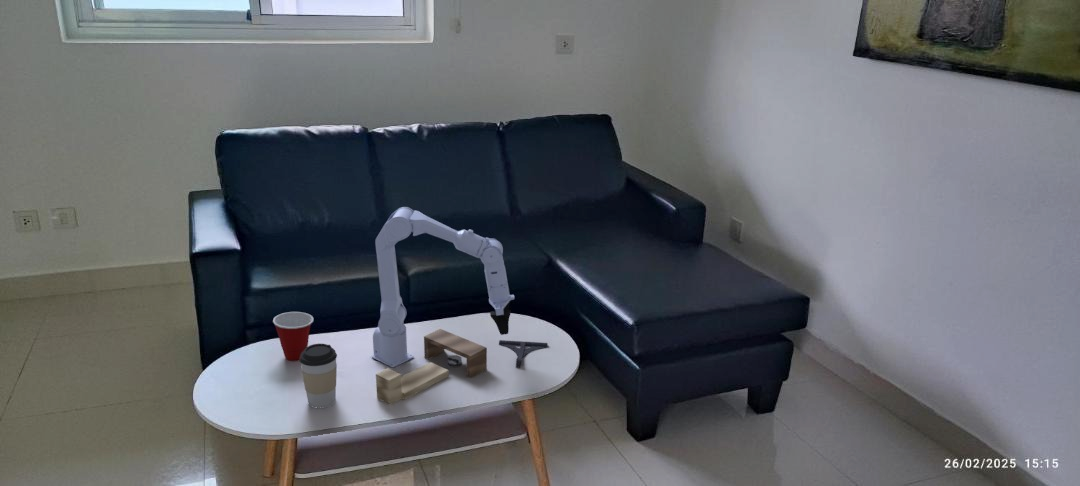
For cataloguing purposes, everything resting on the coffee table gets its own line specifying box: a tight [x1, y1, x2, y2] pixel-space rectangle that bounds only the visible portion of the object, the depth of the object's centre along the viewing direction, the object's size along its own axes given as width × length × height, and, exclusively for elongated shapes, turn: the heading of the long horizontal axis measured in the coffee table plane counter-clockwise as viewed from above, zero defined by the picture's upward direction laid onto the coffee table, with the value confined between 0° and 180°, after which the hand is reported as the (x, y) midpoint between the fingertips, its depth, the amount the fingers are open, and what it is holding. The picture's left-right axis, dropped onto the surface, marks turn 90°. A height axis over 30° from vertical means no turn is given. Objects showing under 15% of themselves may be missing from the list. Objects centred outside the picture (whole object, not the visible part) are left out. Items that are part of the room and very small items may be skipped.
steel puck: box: [447, 354, 463, 368], centre depth 208 cm, size 4×4×2 cm
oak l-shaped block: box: [375, 361, 449, 405], centre depth 196 cm, size 7×20×7 cm, turn 142°
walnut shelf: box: [423, 328, 488, 379], centre depth 208 cm, size 18×6×7 cm, turn 52°
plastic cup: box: [272, 311, 314, 362], centre depth 208 cm, size 11×11×12 cm
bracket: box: [498, 339, 549, 368], centre depth 214 cm, size 14×15×3 cm
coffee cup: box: [299, 343, 338, 409], centre depth 186 cm, size 9×9×15 cm
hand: (504, 327), depth 207 cm, fingers open, 7 cm apart
